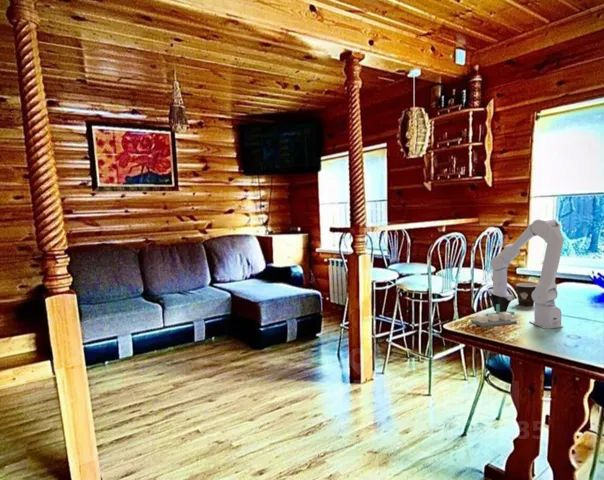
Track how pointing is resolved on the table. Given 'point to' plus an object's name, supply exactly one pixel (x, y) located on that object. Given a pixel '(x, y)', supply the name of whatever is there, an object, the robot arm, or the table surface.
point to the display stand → (493, 319)
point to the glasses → (499, 310)
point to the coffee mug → (525, 294)
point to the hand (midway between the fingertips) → (500, 312)
